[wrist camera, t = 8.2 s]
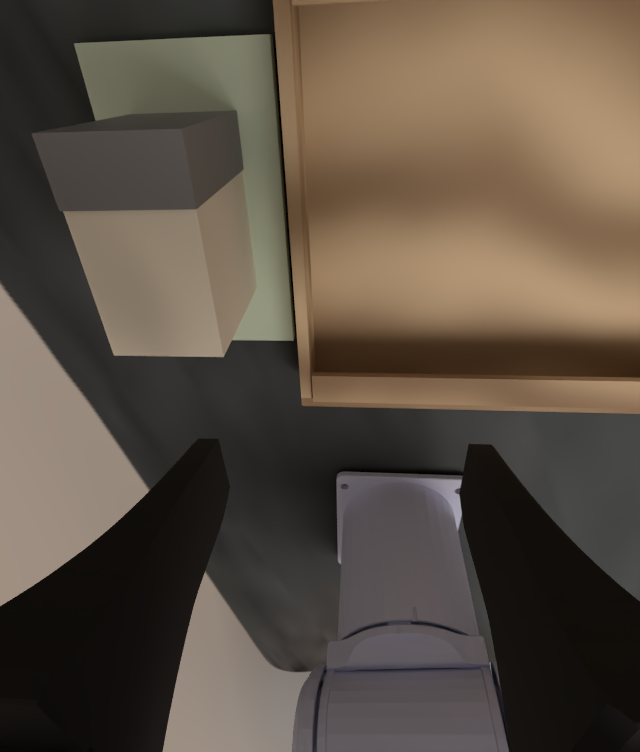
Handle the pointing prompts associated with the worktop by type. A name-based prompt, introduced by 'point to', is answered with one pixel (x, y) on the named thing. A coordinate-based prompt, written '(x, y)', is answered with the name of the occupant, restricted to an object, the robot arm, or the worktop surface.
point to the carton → (464, 202)
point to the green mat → (202, 94)
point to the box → (158, 226)
